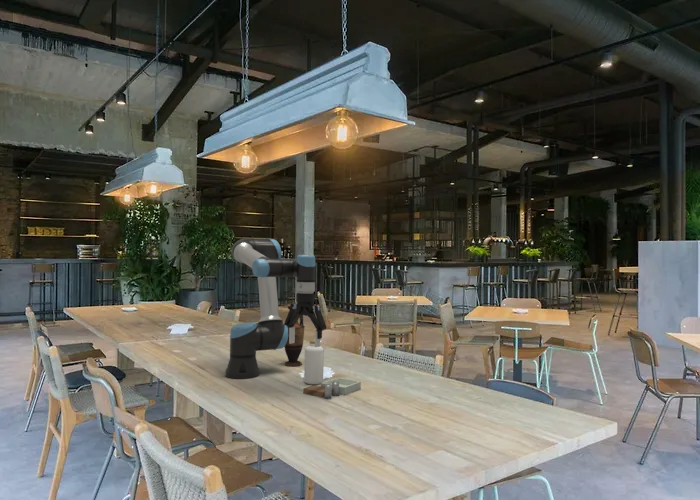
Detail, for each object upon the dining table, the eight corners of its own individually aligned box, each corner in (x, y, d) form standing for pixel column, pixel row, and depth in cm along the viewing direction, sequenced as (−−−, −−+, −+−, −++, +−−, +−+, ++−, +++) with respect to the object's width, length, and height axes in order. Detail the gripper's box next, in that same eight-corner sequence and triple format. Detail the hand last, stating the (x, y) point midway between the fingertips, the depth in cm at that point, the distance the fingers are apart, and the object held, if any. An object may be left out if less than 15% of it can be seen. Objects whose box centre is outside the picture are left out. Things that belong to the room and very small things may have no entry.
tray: (320, 390, 205) (320, 383, 205) (337, 384, 214) (337, 377, 215) (344, 395, 198) (344, 387, 198) (360, 388, 208) (360, 381, 208)
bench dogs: (322, 398, 193) (323, 385, 193) (334, 393, 200) (334, 381, 200) (328, 399, 192) (328, 386, 192) (340, 395, 198) (340, 382, 198)
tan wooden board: (303, 394, 200) (303, 388, 200) (313, 390, 205) (313, 384, 205) (323, 398, 194) (323, 392, 194) (333, 394, 200) (333, 388, 200)
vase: (278, 365, 249) (279, 305, 249) (288, 361, 259) (289, 303, 260) (297, 367, 245) (298, 306, 245) (307, 363, 255) (308, 304, 255)
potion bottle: (320, 385, 212) (321, 343, 212) (301, 384, 214) (302, 342, 214) (325, 380, 220) (326, 340, 221) (307, 379, 222) (307, 339, 222)
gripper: (276, 291, 208) (275, 342, 207) (324, 294, 194) (323, 349, 194) (288, 290, 214) (287, 340, 214) (335, 293, 200) (334, 347, 200)
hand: (304, 345), depth 204 cm, fingers open, 13 cm apart
